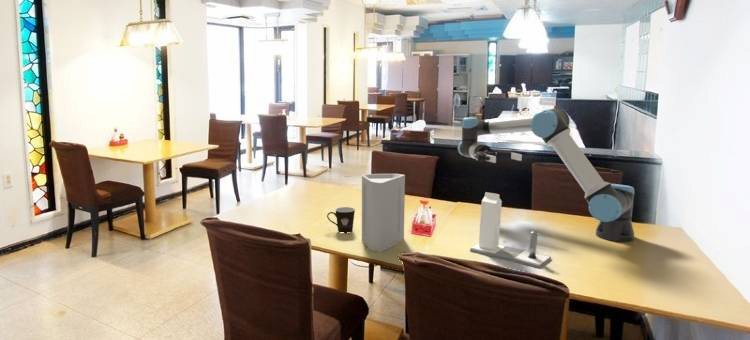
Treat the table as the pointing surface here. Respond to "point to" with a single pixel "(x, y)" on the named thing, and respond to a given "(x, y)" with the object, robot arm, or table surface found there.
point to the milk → (490, 221)
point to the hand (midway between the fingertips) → (508, 158)
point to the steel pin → (533, 244)
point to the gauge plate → (513, 255)
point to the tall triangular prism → (382, 210)
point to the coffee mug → (344, 219)
